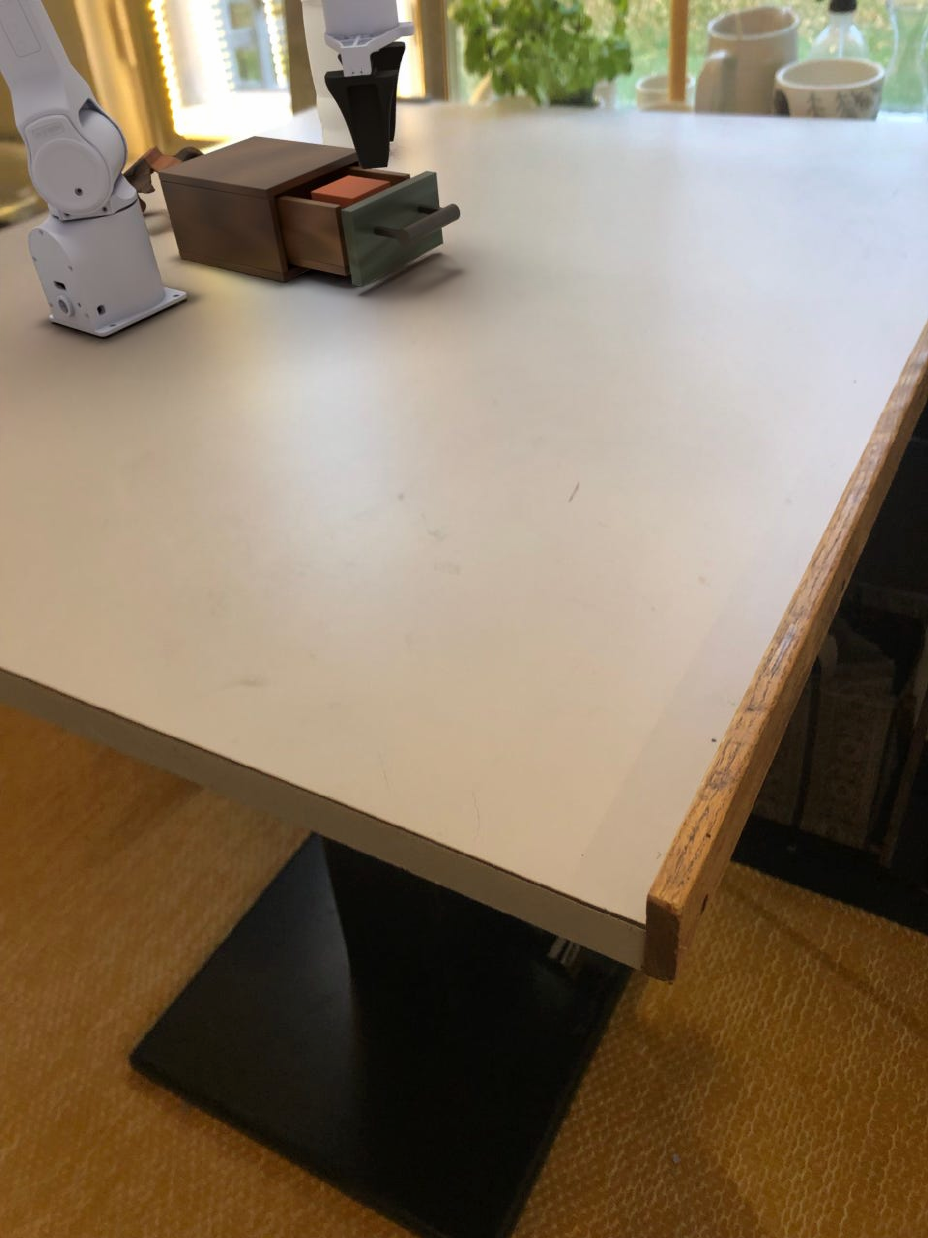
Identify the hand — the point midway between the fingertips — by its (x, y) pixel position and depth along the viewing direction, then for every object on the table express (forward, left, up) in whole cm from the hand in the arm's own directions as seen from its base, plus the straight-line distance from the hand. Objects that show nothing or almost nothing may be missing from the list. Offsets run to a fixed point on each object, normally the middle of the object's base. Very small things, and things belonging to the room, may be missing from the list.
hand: (378, 153), depth 82 cm
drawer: (0, +3, -9) cm, 10 cm away
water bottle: (+27, +29, -10) cm, 41 cm away
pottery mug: (+2, +33, -10) cm, 35 cm away
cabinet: (0, +15, -10) cm, 18 cm away
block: (0, +4, -8) cm, 9 cm away
